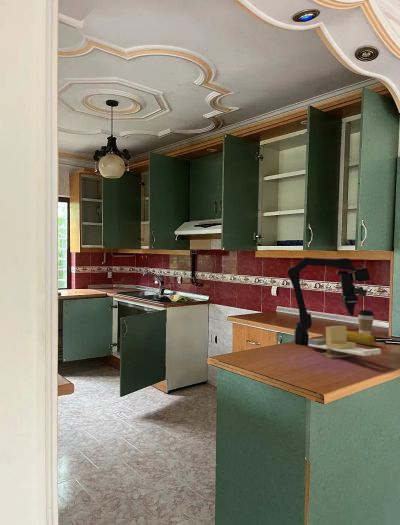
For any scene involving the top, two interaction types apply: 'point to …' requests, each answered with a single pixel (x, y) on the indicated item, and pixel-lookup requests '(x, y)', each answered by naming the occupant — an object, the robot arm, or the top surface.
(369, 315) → the coffee cup
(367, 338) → the food
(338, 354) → the beam stand
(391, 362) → the top surface
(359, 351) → the white twin rails
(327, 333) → the block
